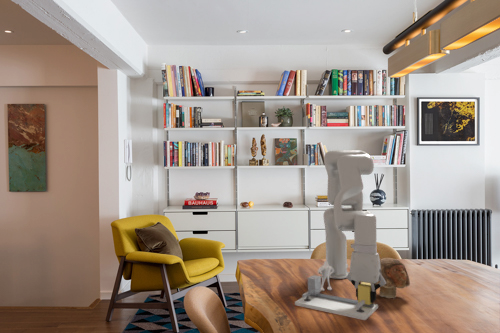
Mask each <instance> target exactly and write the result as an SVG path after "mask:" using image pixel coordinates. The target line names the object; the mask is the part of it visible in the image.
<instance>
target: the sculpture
mask: <svg viewBox="0 0 500 333" xmlns="http://www.w3.org/2000/svg"><path fill="white" fill-rule="evenodd" d="M380 264H381V275H382V276H383V278H384V279H385V281H386V284H385V285H383V286H381V287H379V297H381V298H385V299H388V298H393V299H395V298H396V297H397V289H404V288H407V287H410V282H411V281H410V277H409V273H408V271H407V268H406V266H405V264H404V263H403V262H402V261H401V260H399V259H397V258H396V259H395V258H392V257H384V258H380ZM378 283H380V281H378V282H377V284H378Z"/></svg>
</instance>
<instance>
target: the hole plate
mask: <svg viewBox="0 0 500 333" xmlns="http://www.w3.org/2000/svg"><path fill="white" fill-rule="evenodd" d="M294 305H295V306H298V307H302V308H305V309H306V308H307V309H311V310H316V311H321V312H326V313H330V314H335V315H339V316H345V317H349V318H352V319H358V320H362V321H366V320H367V319H369V317H370V316H372V315H373V313H375V312H376V311H377V309H379V304H378V303H374V307H373V308H371V307H366V306H362V311H359V309H358V308H356V305H355V304H350V303H345V302H340V301H335V300H330V299H325V298H320V297H315V296H309V300H306V297H305V298H303V297H300V298H299V299H298V300H296V301H294Z"/></svg>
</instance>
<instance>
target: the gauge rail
mask: <svg viewBox="0 0 500 333" xmlns="http://www.w3.org/2000/svg"><path fill="white" fill-rule="evenodd" d="M321 277H322V275H316V274H313V275H311V276H309V277H307V291H306V292H305V293H303V294H302V295H301V296H302V297H303V298H305V297H306V300H309V296H315V297H320V298H325V299H330V300H335V301H340V302H345V303H350V304H355V305H356V304H358V300H357V299H354V298H346V297H341V296H337V295H331V294H326V293H321V292H322V291H321V284H322V278H321ZM302 297H301V298H302ZM374 304H375V303H374V302H373V303H371V304H370V305H368V304H364V305H362V306H366V307H371V308H373V307H374Z"/></svg>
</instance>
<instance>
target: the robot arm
mask: <svg viewBox="0 0 500 333" xmlns="http://www.w3.org/2000/svg"><path fill="white" fill-rule="evenodd" d="M323 161H324V162H323V164H324V167H325V170H326V174H327V191H326V192H327V202H328V204H329V205H330V206H332V207H329V208H327V209H326V210H324V212H323V224H324V230H325V261H327V262H328V265H330V266H332V267H333V269H334V272H333V273H332V274H330V276H331V277H330V276H329V279H336V280H341V279H347V280H348V281H349V282H351V284H352V286H354V289H355V297H356V300H358V285H359V284H361V283H362V282H365V283H370V284H371V291H370V302H371V303H374V302H375V301H376V300H377V290H378V289H380V287H381V286H383V285H385V284H386V281H385V279H384V278H383V276H382V275H381V264H380V259H381V258H380V255H379V253H378V252H377V249H378V248H377V245H378V244H377V217H376V215H375V214H374V213H372V212H371V211H369V210H363V208H364V207H363V206H364V203H363V202H364V194H363V189H364V183H363V180H362V176H363V175H371V174H372V173H373V171H374V168H375V166H374V165H375V164H374V161H373V159H372V157H371V155H370V154H369V153H367V152H366V151H363V150H357V149H355V150H353V149H350V150H347V149H346V150H345V149H337V150H335V149H334V150H329V151H327V152H325V154H324V157H323ZM342 206H343V207H342ZM345 206H347V207H345ZM348 206H350V207H348ZM344 232H353V233H354V234H353V235H354V236H353V237H354V239H353V240H354V242H353V243H350V248H352V249H353V251H352V252H351V256H350V264H348V258H347V256H348V255H347V248H348V247H347V245H348V244H347V243H348V242H347V236H346V235H345V233H344ZM348 268H349V271H348ZM330 271H331V270H330ZM378 281H380V283H378V284H377V282H378Z"/></svg>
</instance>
